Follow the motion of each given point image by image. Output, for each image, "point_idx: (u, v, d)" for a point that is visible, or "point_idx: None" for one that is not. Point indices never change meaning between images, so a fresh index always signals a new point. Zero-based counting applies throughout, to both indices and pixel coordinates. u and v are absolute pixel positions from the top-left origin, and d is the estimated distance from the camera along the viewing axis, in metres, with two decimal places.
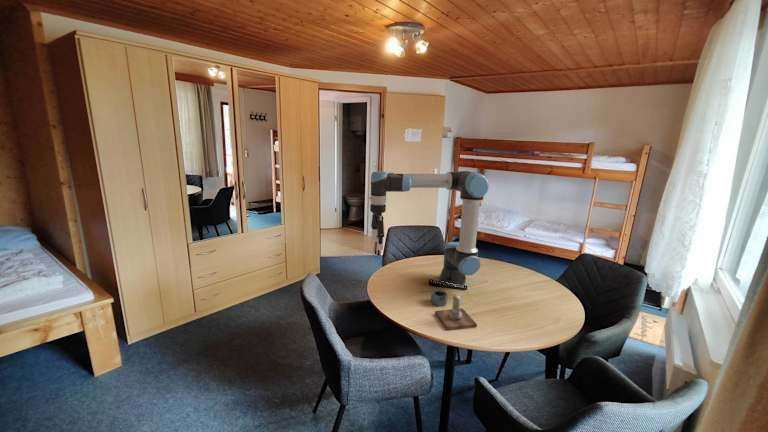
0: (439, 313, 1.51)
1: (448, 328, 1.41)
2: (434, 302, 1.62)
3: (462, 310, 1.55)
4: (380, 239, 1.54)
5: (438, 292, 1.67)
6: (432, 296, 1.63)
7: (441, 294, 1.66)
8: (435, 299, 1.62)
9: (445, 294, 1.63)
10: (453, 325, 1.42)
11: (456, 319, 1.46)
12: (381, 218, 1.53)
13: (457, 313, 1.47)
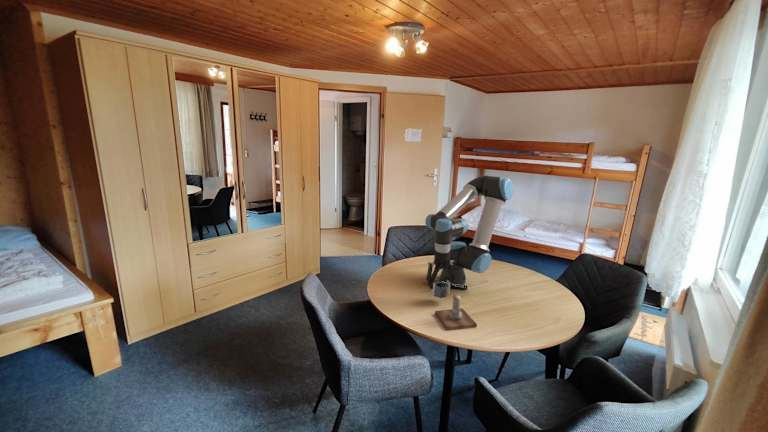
0: (439, 313, 1.51)
1: (448, 328, 1.41)
2: (436, 294, 1.62)
3: (462, 310, 1.55)
4: (430, 284, 1.62)
5: (439, 283, 1.66)
6: None
7: (442, 285, 1.66)
8: (437, 290, 1.61)
9: (446, 285, 1.63)
10: (453, 325, 1.42)
11: (456, 319, 1.46)
12: (429, 265, 1.59)
13: (457, 313, 1.47)
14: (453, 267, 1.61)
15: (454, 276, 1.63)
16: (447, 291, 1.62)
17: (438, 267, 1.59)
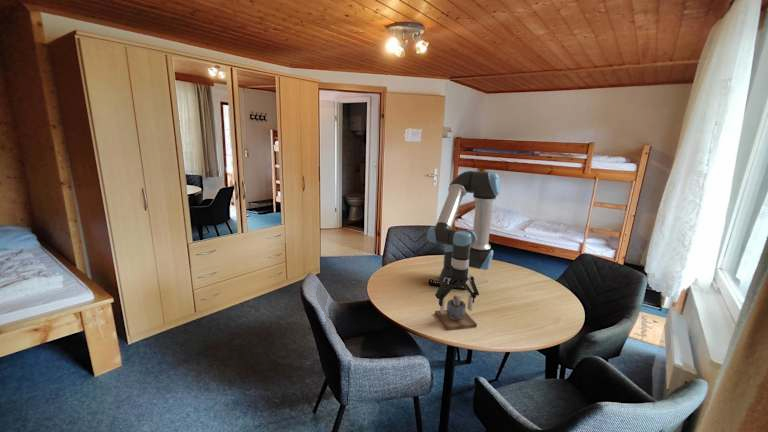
0: (439, 313, 1.51)
1: (448, 328, 1.41)
2: (451, 313, 1.45)
3: None
4: (439, 300, 1.45)
5: None
6: (448, 306, 1.46)
7: None
8: (452, 309, 1.45)
9: (463, 304, 1.47)
10: (453, 325, 1.42)
11: (456, 319, 1.46)
12: (444, 280, 1.43)
13: None
14: (473, 283, 1.46)
15: (476, 292, 1.47)
16: (463, 310, 1.46)
17: (454, 284, 1.43)
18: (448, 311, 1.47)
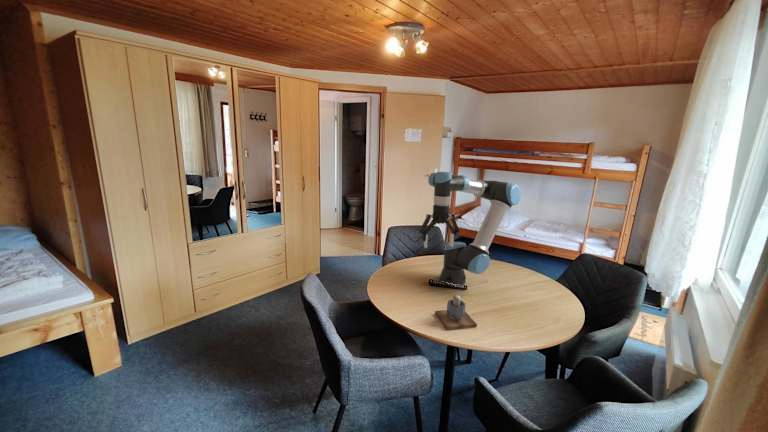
0: (439, 313, 1.51)
1: (448, 328, 1.41)
2: (451, 313, 1.45)
3: None
4: None
5: None
6: (448, 306, 1.46)
7: None
8: (452, 309, 1.45)
9: (463, 304, 1.47)
10: (453, 325, 1.42)
11: (456, 319, 1.46)
12: (427, 216, 1.56)
13: None
14: (453, 220, 1.59)
15: (457, 229, 1.60)
16: (463, 310, 1.46)
17: (436, 220, 1.56)
18: (448, 311, 1.47)
